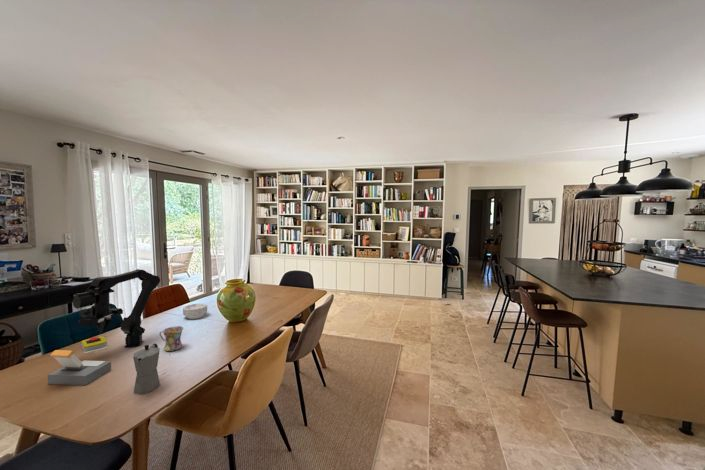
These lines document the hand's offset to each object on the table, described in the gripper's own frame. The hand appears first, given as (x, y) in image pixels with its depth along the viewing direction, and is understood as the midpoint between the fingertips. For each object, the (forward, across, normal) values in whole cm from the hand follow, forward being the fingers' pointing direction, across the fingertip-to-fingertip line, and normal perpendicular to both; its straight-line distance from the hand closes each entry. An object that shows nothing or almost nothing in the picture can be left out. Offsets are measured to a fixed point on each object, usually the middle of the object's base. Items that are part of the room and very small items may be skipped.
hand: (102, 333), depth 140 cm
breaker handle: (+7, +18, +4) cm, 20 cm away
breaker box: (+12, +18, +6) cm, 22 cm away
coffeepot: (+12, +22, +40) cm, 48 cm away
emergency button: (+13, -11, -15) cm, 23 cm away
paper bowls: (+12, -60, +12) cm, 62 cm away
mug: (+12, -11, +27) cm, 32 cm away
